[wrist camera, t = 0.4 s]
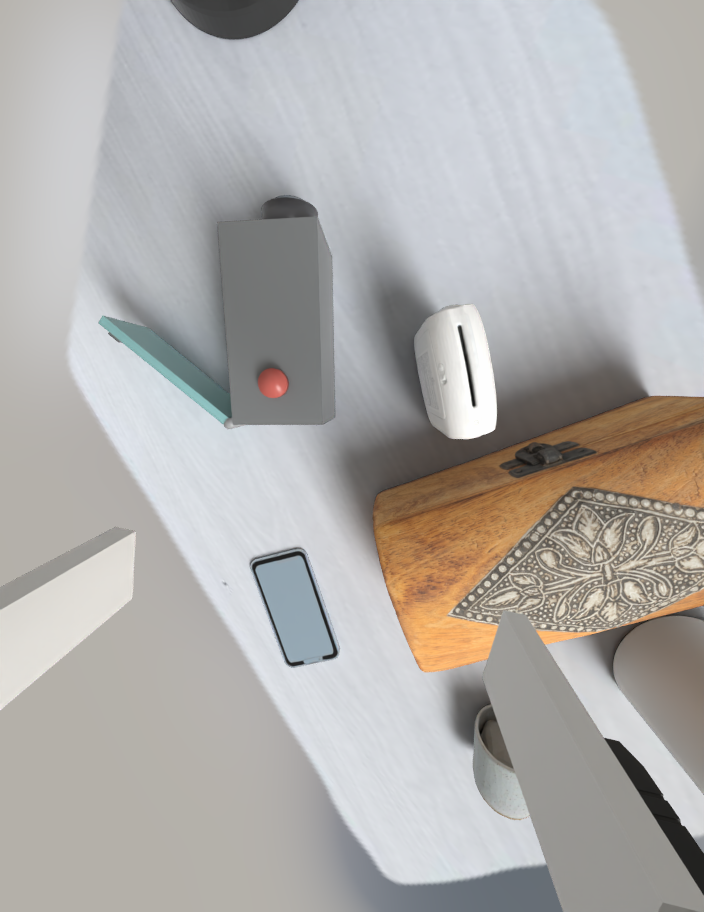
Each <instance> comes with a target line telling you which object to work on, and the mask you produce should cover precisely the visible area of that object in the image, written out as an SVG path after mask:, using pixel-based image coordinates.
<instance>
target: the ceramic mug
mask: <svg viewBox="0 0 704 912" xmlns="http://www.w3.org/2000/svg"><path fill="white" fill-rule="evenodd" d="M473 771H474V778H475V782H476V785H477V788H478V790H479V792H480V794H481V795H482V797H483V799H484V800H485V801H486V802H487V804H488V805H489V806H490V807H491V808H492V809H493V810H494V811H496V812H497V813H499V814H500V815H502V816H505V817H507V818H510V819H514V820H521V819H525V818H527V817H529V816H530V814H529V811H528V808H527V805H526V803H525V800H524V797H523V794H522V791H521V788H520V785H519V782H518V779H517V777H516V774H515V771H514V768H513V765H512V762H511V759H510V756H509V753H508V751H507V748H506V745H505V742H504V739H503V736H502V733H501V730H500V727H499V725H498V722H497V719H496V716H495V713H494V710H493V707H492V704H490V705H487V706H485V707H484V708H482V709H481V710H480V711H479V713H478V715H477V717H476V720H475V733H474V754H473Z"/></svg>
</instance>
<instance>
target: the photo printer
mask: <svg viewBox="0 0 704 912" xmlns="http://www.w3.org/2000/svg"><path fill="white" fill-rule="evenodd" d="M414 349H415V356H416V362H417V368H418V373H419V379H420V383H421V388H422V393H423V398H424V402H425V406H426V410H427V414H428V417H429V420H430V422H431V424H432V426H434V427H435V428H436V429H438V430H439V431H441V432H442V433H443V434H445V435H446V436H447V437H449V438H452V439H472V438H476V437H479V436H481V435H484V434H487V433H490V432H492V431H493V430H495V427H496V420H497V401H496V390H495V382H494V375H493V368H492V362H491V357H490V352H489V347H488V342H487V338H486V334H485V330H484V326H483V323H482V320H481V317H480V315H479V313H478V311H477V309H476V307H475V305H473V304H466V305H450V306H446V307H444V308H442V309H440V310H439V311H438V312H436V313H435V314H434V315H432V316H430V317H428V318H427V319H426V320H425V322H424V323H423V325H422V326H421V328H420V329H419V330H418V332H417V333H416V335H415V337H414Z"/></svg>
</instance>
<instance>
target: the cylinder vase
mask: <svg viewBox="0 0 704 912" xmlns="http://www.w3.org/2000/svg"><path fill="white" fill-rule="evenodd" d="M613 671H614V676H615V680H616V682H617V685H618V687H619V688H620V690H621V691H622V693H623V694H624V695H625V697H626V698H627V699H628V700H629V702H630V703H631V704H632V705H633V707H634V708H635V709H636V710H637V712H638V713H639V714H640V716H641V717H642V718H643V719H644V721H645V722H646V723H647V724H648V726H649V727H650V728H651V729H652V731H653V732H654V733H655V734H656V736H657V737H658V738H659V739H660V741H661V742H662V743H663V744H664V746H665V747H666V748H667V749H668V751H669V752H670V753H671V754H672V756H673V757H674V758H675V759H676V761H677V762H678V763H679V764H680V766H681V767H682V768H683V769H684V771H685V772H686V773H687V774H688V776H689V777H690V778H691V779H692V781H693V782H694V783H695V784H696V786H697V787H698V788H699V789H700V791H701V792H702V793H703V794H704V621H703V620H700V619H697V618H693V617H687V616H666V617H660V618H656V619H653V620H650V621H647V622H645V623H643V624H641V625H639V626H638V627H636V628H635V629H633V630H632V631H631V632H630V633H629V634H627V636H626V637H625V638H624V639H623V640H622V641H621V643H620V645H619V646H618V648H617V650H616V653H615V656H614V662H613Z"/></svg>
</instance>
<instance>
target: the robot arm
mask: <svg viewBox="0 0 704 912" xmlns="http://www.w3.org/2000/svg"><path fill="white" fill-rule="evenodd" d="M171 1H172V2H173V4H174V5H175V7H176V8H177V9H178V11H179V12H180V13H181V14H182V15H183V16H184V17H185V18H186V19H187V20H188V21H189V22H190V23H192V24H193V25H194V26H196V27H197V28H199V29H200V30H202V31H204V32H206V33H208V34H211V35H214V36H217V37H221V38H227V39H241V38H247V37H252V36H255V35H258V34H260V33H262V32H264V31H266V30H268V29H270V28H271V27H273V26H274V25H276V24H277V23H278V22H280V21H281V20H282V19H283V18H284V17H285V16H286V15H287V14H288V13H289V12H290V11H291V10H292V8H293V7H294V6H295V5H296V3H297V2H298V0H171ZM135 535H136V531H133V530H128V529H123V528H119V527H114V528H112V529H110V530H108V531H106V532H104V533H103V534H101V535H99V536H97V537H95V538H93V539H91V540H89V541H87V542H86V543H83V544H82V545H80V546H78V547H76V548H74V549H72V550H70V551H68V552H66V553H64V554H62V555H60V556H59V557H57V558H55V559H53V560H51V561H49V562H47V563H45V564H43V565H41V566H40V567H38V568H36V569H34V570H32V571H30V572H28V573H26V574H24V575H22V576H21V577H18V578H16V579H15V580H13V581H11V582H9V583H7V584H5V585H3V586H1V587H0V710H1V709H2V708H3V707H4V706H6V705H7V704H8V703H9V702H11V701H12V700H13V699H14V698H15V697H16V696H18V695H19V694H20V693H21V692H22V691H24V690H25V689H26V688H27V687H28V686H29V685H31V684H32V683H33V682H34V681H35V680H36V679H38V678H39V677H40V676H41V675H42V674H44V673H45V672H46V671H47V670H48V669H50V668H51V667H52V666H53V665H54V664H55V663H57V662H58V661H59V660H60V659H61V658H62V657H64V656H65V655H66V654H67V653H68V652H70V651H71V650H72V649H73V648H74V647H76V646H77V645H78V644H79V643H80V642H81V641H83V640H84V639H85V638H86V637H87V636H89V635H90V634H91V633H92V632H93V631H94V630H96V629H97V628H98V627H99V626H100V625H101V624H103V623H104V622H105V621H106V620H107V619H109V618H110V617H111V616H112V615H113V614H115V613H116V612H117V611H118V610H119V609H120V608H122V607H123V606H124V605H125V604H126V603H128V602H129V601H130V600H131V599H132V596H133V577H134V555H135ZM482 678H483V681H484V684H485V687H486V690H487V693H488V696H489V699H490V701H491V704H492V707H493V710H494V713H495V716H496V719H497V722H498V725H499V727H500V730H501V733H502V736H503V739H504V742H505V745H506V748H507V751H508V753H509V756H510V759H511V762H512V765H513V768H514V771H515V774H516V777H517V779H518V782H519V785H520V788H521V791H522V794H523V797H524V800H525V803H526V805H527V808H528V811H529V814H530V817H531V820H532V823H533V826H534V829H535V831H536V834H537V837H538V840H539V843H540V846H541V849H542V852H543V855H544V857H545V860H546V863H547V866H548V869H549V872H550V875H551V877H552V880H553V883H554V886H555V889H556V892H557V895H558V897H559V900H560V903H561V906H562V909H563V912H704V853H703V852H702V851H701V849H700V848H699V846H698V845H697V843H696V842H695V840H694V839H693V837H692V836H691V835H690V833H689V832H688V830H687V829H686V827H685V826H682V825H681V823H680V819H679V817H678V816H677V814H676V813H675V811H674V810H673V808H672V807H671V806H670V804H669V803H668V801H666V800H664V798H663V794H662V793H661V791H660V790H659V788H658V787H657V785H656V784H655V782H654V781H653V779H652V778H651V777H650V775H649V774H648V772H647V771H646V769H645V768H644V766H643V765H642V764H641V763H640V762H639V761H638V760H637V759H636V758H635V757H634V756H633V755H632V754H631V753H630V752H629V751H628V750H627V749H626V748H625V747H624V746H623V745H622V744H621V743H620V742H619V741H615V740H611V739H607V738H604V737H603V736H602V734H601V733H600V731H599V730H598V728H597V726H596V725H595V723H594V722H593V720H592V718H591V717H590V715H589V714H588V712H587V711H586V709H585V707H584V706H583V704H582V703H581V701H580V700H579V698H578V696H577V695H576V693H575V692H574V690H573V688H572V687H571V685H570V684H569V682H568V681H567V679H566V677H565V676H564V674H563V673H562V671H561V670H560V668H559V666H558V665H557V663H556V662H555V660H554V658H553V657H552V655H551V654H550V652H549V651H548V649H547V647H546V646H545V644H544V643H543V641H542V640H541V638H540V636H539V635H538V633H537V632H536V630H535V628H534V627H533V625H532V624H531V622H530V621H529V619H528V617H527V616H526V615H523V614H518V613H514V612H509V611H504V610H503V613H502V616H501V619H500V622H499V625H498V629H497V632H496V635H495V638H494V641H493V644H492V648H491V651H490V654H489V657H488V660H487V663H486V666H485V670H484V673H483V676H482Z"/></svg>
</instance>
